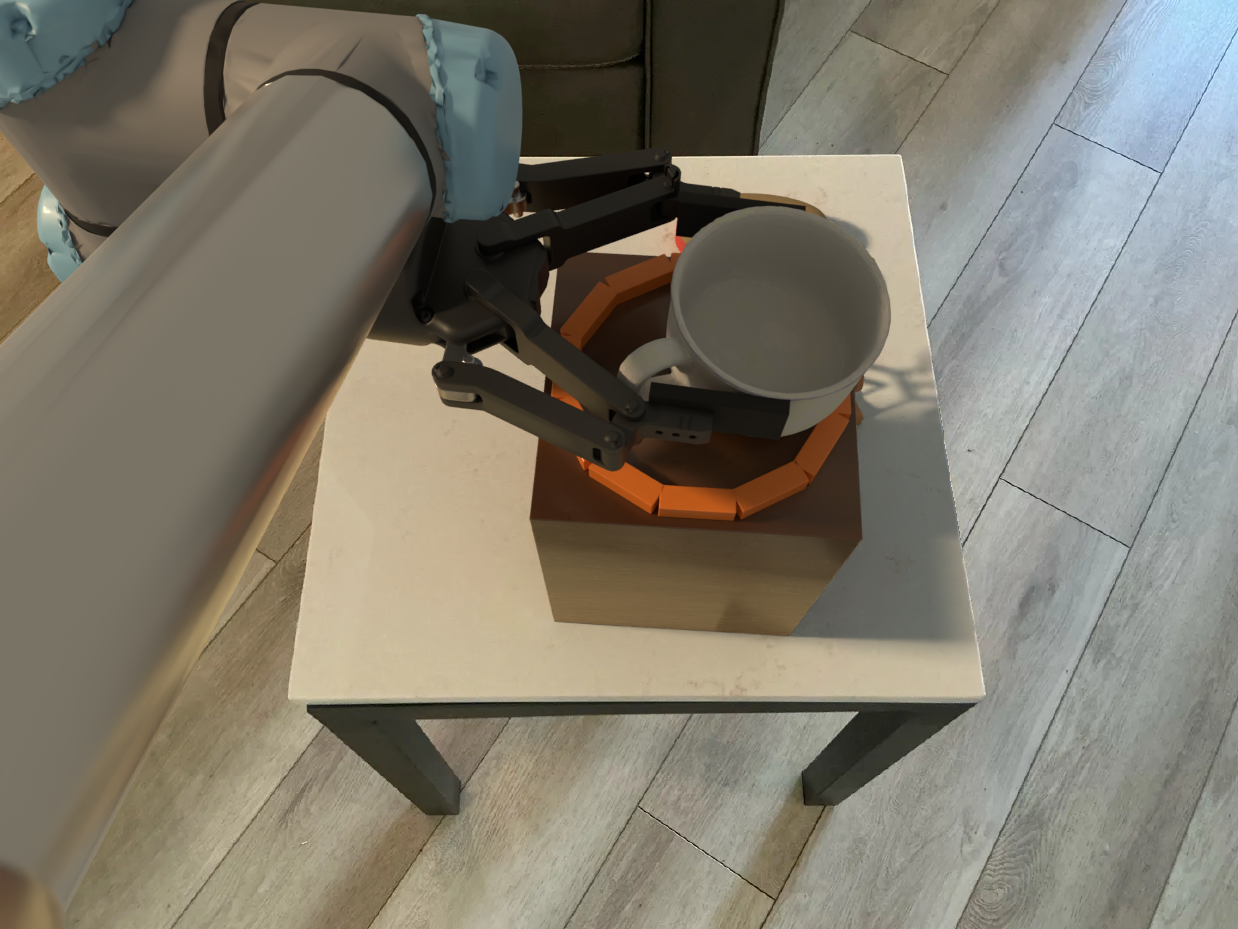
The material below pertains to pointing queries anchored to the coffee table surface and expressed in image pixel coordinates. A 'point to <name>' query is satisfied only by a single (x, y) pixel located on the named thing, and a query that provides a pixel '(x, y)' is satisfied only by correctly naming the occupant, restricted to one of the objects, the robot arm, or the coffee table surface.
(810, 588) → the plinth
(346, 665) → the coffee table surface
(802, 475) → the ring
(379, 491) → the coffee table surface
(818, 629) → the coffee table surface
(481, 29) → the robot arm
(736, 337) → the teacup
